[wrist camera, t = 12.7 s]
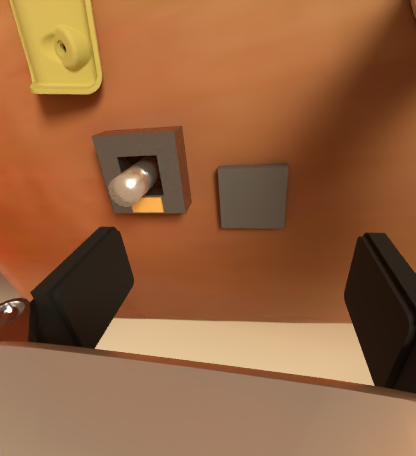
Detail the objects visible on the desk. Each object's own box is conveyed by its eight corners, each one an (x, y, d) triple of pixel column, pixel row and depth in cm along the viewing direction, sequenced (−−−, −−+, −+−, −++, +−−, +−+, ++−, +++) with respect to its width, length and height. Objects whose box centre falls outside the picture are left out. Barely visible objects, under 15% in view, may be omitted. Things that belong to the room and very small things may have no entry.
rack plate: (181, 126, 37) (173, 131, 34) (191, 202, 43) (185, 214, 40) (106, 131, 40) (90, 136, 36) (125, 202, 45) (113, 214, 42)
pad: (287, 163, 37) (288, 166, 36) (283, 224, 42) (284, 228, 41) (218, 166, 39) (217, 169, 38) (222, 223, 44) (221, 228, 43)
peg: (161, 155, 40) (134, 176, 32) (165, 180, 42) (141, 206, 34) (137, 156, 41) (104, 177, 32) (142, 180, 43) (113, 206, 34)
